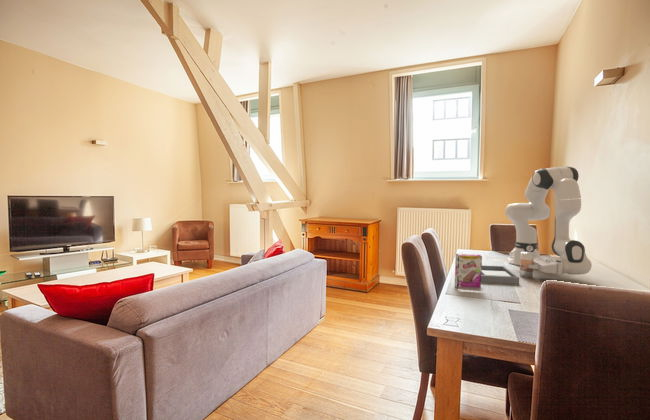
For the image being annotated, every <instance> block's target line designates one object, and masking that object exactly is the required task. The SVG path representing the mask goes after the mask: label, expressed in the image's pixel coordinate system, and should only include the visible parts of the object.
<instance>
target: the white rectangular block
mask: <svg viewBox="0 0 650 420" xmlns="http://www.w3.org/2000/svg"><path fill="white" fill-rule="evenodd" d="M481 275H487V276H508V277H511V276H510V275H509V274H508V273H506V272H505V271H487V270H481Z"/></svg>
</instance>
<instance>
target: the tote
mask: <svg viewBox="0 0 650 420" xmlns="http://www.w3.org/2000/svg"><path fill="white" fill-rule="evenodd" d="M481 270H487V271H505V272H506V273H508V274H509V275H510V276H511V277H508V276H487V275H481V284H499V285H500V284H501V285H518V286H519V285H520V276H518V275H516V273H513V271H511V270H510V269H508V268H507V267H506V266H504V265H502V266H501V265H482V266H481Z"/></svg>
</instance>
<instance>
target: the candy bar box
mask: <svg viewBox="0 0 650 420" xmlns="http://www.w3.org/2000/svg"><path fill="white" fill-rule="evenodd" d="M482 259H483V256H482V255H480V254H479V253H455V261H454V262H455V266H454V267H455V268H454V287H456V289H459V288H481V287H482V286H481V285H482V283H481V266H482V263H483V260H482Z"/></svg>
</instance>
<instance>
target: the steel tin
mask: <svg viewBox="0 0 650 420" xmlns="http://www.w3.org/2000/svg"><path fill="white" fill-rule="evenodd" d="M533 259H534V253H533V252H525V251H523V252H521V254H520V265H519V278H520V277H521V278H525V279H533V278H534V269H533V268H528V264H532V265H533V261H534V260H533Z"/></svg>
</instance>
